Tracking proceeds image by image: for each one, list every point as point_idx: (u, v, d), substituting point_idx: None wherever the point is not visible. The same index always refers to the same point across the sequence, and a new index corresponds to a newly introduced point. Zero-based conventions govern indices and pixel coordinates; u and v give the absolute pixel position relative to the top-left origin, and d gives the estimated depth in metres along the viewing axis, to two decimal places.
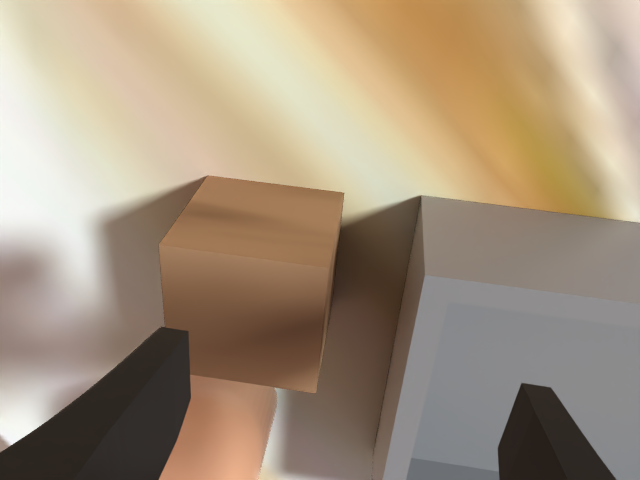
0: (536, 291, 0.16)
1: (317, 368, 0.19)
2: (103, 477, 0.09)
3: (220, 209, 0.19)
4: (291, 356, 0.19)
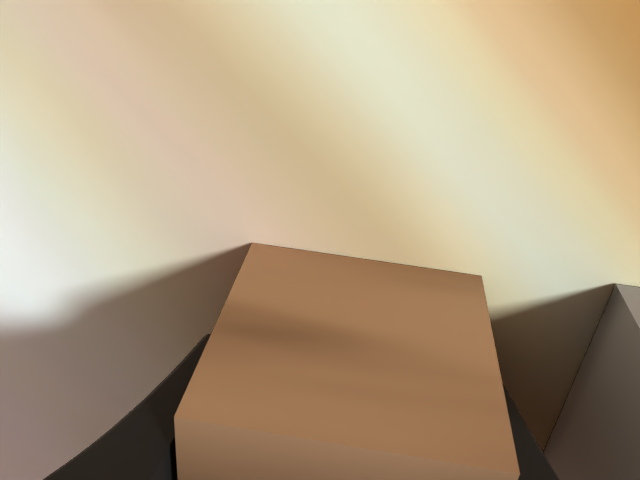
0: None
1: None
2: None
3: (282, 320, 0.11)
4: None
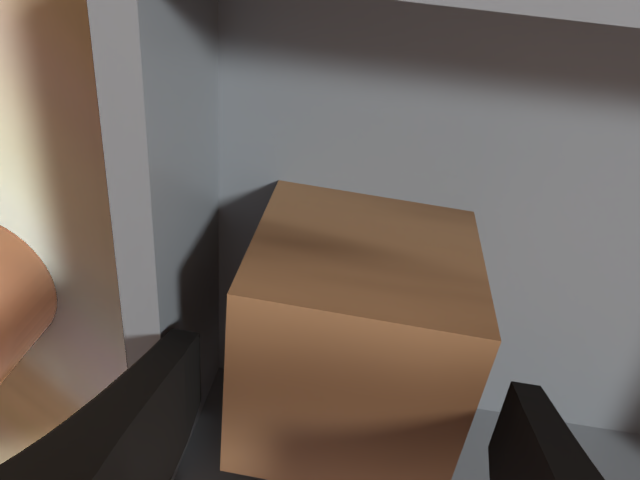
0: None
1: (449, 479, 0.12)
2: None
3: (309, 234, 0.13)
4: (412, 461, 0.12)
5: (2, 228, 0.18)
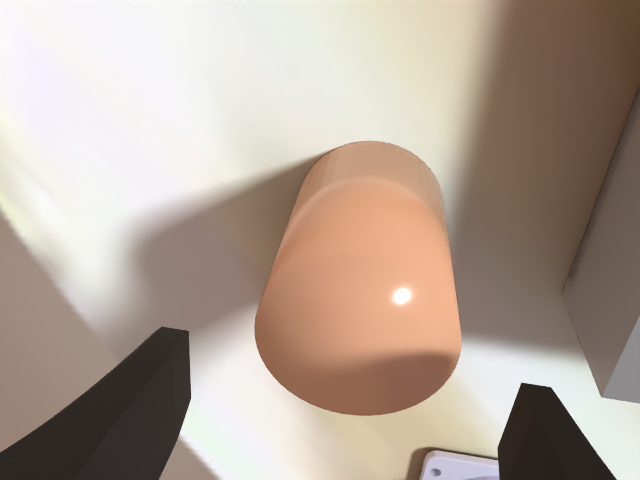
0: None
1: None
2: (103, 477, 0.09)
3: None
4: None
5: (414, 155, 0.19)
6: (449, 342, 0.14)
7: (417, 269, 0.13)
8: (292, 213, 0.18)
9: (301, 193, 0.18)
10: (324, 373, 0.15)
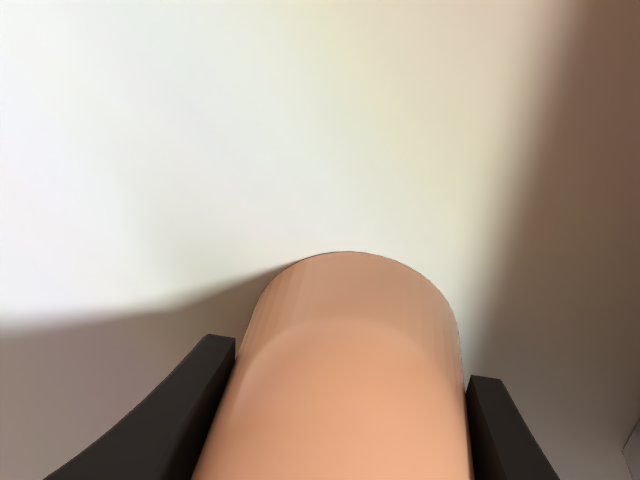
0: None
1: None
2: None
3: None
4: None
5: (417, 273, 0.13)
6: None
7: None
8: (231, 373, 0.12)
9: (247, 335, 0.12)
10: None
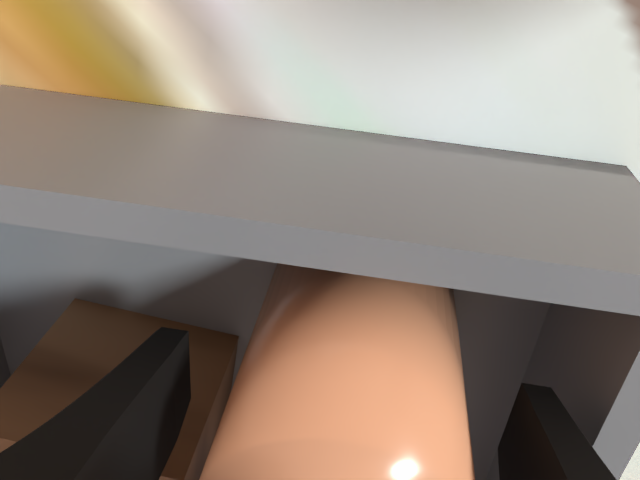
0: None
1: None
2: (103, 477, 0.09)
3: (71, 363, 0.15)
4: None
5: None
6: None
7: (442, 474, 0.09)
8: (266, 308, 0.13)
9: (281, 279, 0.14)
10: None
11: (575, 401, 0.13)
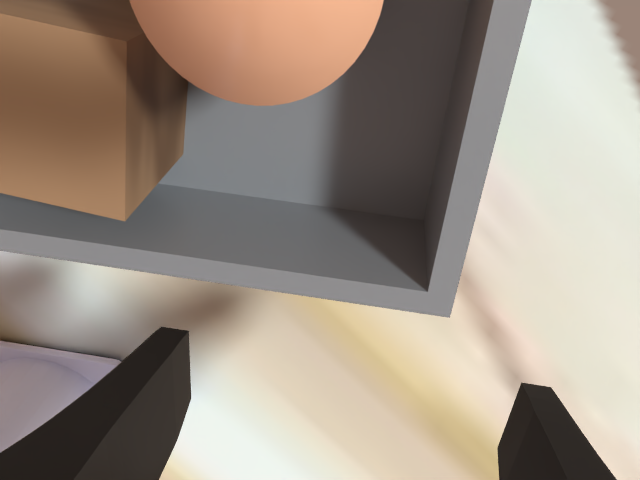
0: None
1: (124, 186, 0.16)
2: (103, 477, 0.09)
3: None
4: (93, 167, 0.16)
5: None
6: None
7: None
8: None
9: None
10: (206, 26, 0.11)
11: None
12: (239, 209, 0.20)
